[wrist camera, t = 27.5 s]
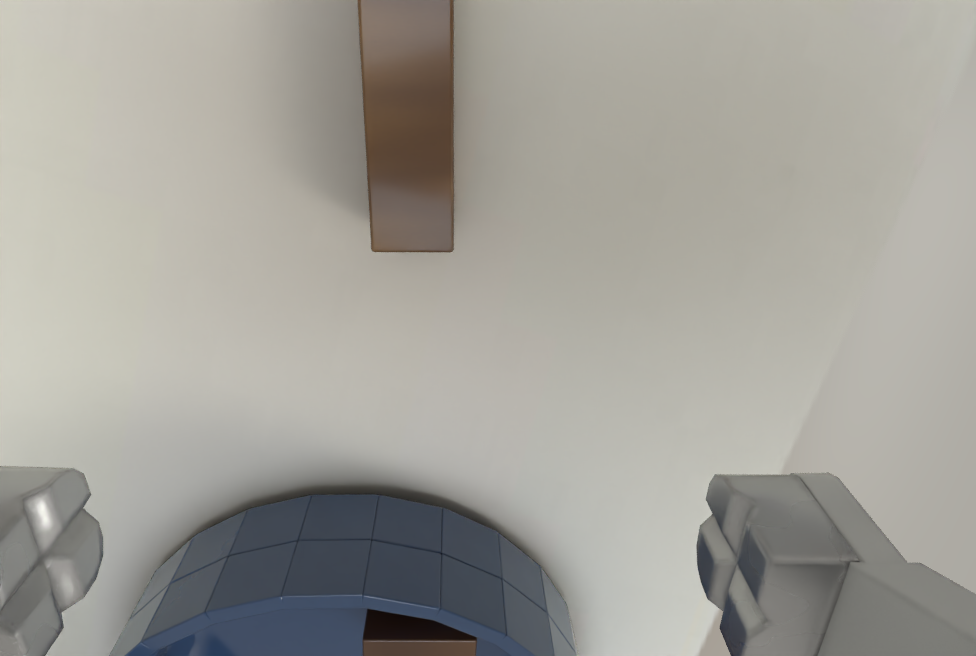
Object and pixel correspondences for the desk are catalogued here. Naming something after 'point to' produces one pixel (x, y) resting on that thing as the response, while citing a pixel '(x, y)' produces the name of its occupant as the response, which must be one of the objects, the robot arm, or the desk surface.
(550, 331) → the desk surface
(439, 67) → the stick
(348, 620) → the bowl
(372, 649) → the block
